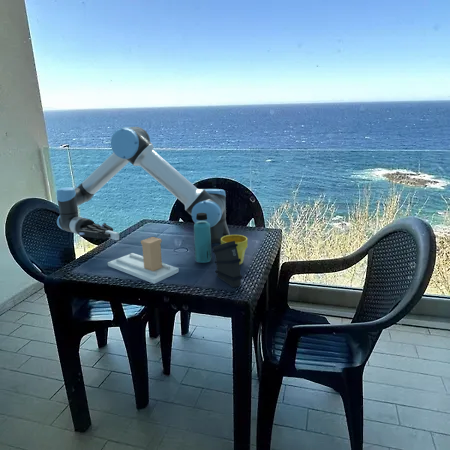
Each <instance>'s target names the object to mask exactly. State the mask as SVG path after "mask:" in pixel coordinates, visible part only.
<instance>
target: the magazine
mask: <svg viewBox="0 0 450 450" xmlns="http://www.w3.org/2000/svg"><path fill="white" fill-rule="evenodd" d="M236 246H238V245H237V244H235V241H231V242H227V243H224V244H221V243H220V244H217V245H214V246H213V247H212V249H211V252H212V254H213V253H214V256H215V261H214V264H215V265H216V270H215V273H216V276H217V278H219V279H220V280H222V281H224V282H225V283H227V284H228V285H229V286H231V287H232V288H237V287H241V286H242V283H241V281H242V279H243V275H242V273H241V266H240V265H241V264H239V262H241V259H239V257H238V251H237V248H236Z"/></svg>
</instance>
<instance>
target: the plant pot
mask: <svg viewBox="0 0 450 450" xmlns="http://www.w3.org/2000/svg"><path fill="white" fill-rule="evenodd" d="M248 239H249V238H248V237H247V236H245V235H242V234H230V235H227V236H224V237H222V238H221V242H220V245H221V244H224V243H227V242H231V241H235V244H237V245H238V246H236V248H237V251H238V257H239V259H241V262H239V264H240V265H242V264H243V263H244V259H245V253H246V250H247V248H248V246H249V245H248Z"/></svg>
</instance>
